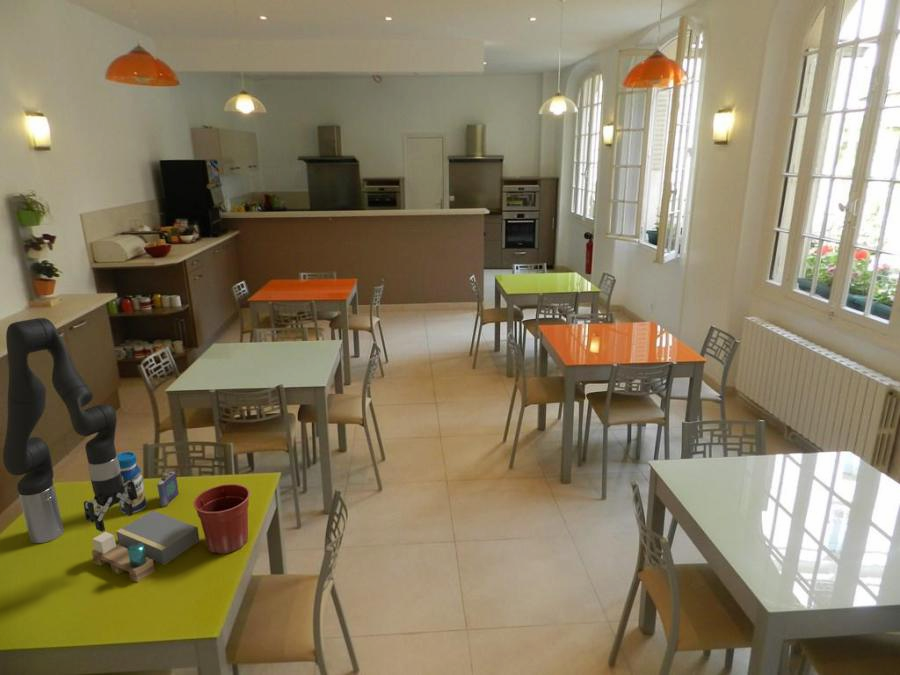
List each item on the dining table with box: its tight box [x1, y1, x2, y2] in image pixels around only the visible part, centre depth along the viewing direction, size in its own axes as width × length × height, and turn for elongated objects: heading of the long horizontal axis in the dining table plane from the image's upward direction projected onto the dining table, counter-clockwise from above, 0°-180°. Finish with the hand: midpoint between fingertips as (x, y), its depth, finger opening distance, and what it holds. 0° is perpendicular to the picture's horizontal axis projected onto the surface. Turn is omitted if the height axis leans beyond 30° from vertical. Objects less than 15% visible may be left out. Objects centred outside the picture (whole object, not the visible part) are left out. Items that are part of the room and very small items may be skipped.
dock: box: [115, 510, 200, 565], centre depth 189 cm, size 21×13×5 cm, turn 63°
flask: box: [156, 471, 180, 508], centre depth 213 cm, size 9×3×11 cm, turn 172°
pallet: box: [91, 543, 156, 583], centre depth 179 cm, size 20×6×4 cm, turn 63°
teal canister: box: [127, 543, 147, 568], centre depth 174 cm, size 4×4×5 cm
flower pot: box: [192, 483, 251, 555], centre depth 188 cm, size 16×16×16 cm
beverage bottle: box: [116, 451, 147, 514], centre depth 207 cm, size 8×8×20 cm
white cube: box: [92, 531, 117, 554], centre depth 181 cm, size 4×4×4 cm
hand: (115, 522), depth 175 cm, fingers open, 8 cm apart
